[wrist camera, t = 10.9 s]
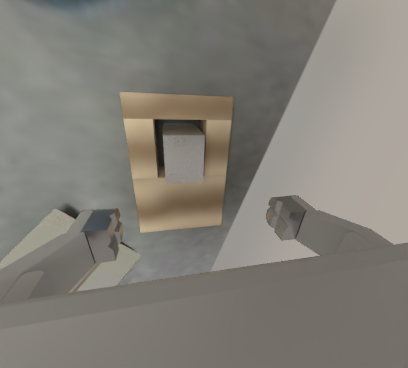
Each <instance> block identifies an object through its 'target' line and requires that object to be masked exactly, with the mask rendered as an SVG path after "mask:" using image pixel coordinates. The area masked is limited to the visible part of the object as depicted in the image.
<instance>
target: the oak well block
mask: <svg viewBox="0 0 408 368" xmlns="http://www.w3.org/2000/svg"><path fill="white" fill-rule="evenodd" d="M120 99H121V105H122V112H123V119H124V125H125V132H126V138H127V145H128V152H129V158H130V165H131V172H132V178H133V185H134V192H135V198H136V205H137V212H138V218H139V225H140V232H141V233H143V232H154V231H164V230H174V229H184V228H195V227H205V226H215V225H221V221H222V211H223V201H224V191H225V181H226V171H227V161H228V151H229V141H230V131H231V121H232V111H233V101H234V97H223V96H200V95H177V94H153V93H130V92H120ZM155 119H177V120H201V123H200V131H201V132H202V133H203V134H204V135H205V146H204V172H203V182H191V183H170V184H166V179H165V166H163V167H159V164H158V151H157V138H156V125H155Z"/></svg>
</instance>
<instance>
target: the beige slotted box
mask: <svg viewBox="0 0 408 368" xmlns="http://www.w3.org/2000/svg"><path fill="white" fill-rule="evenodd" d="M51 212H52V213H49V215H47V216H46V217H45V218H44V220H42V221H41V223H40V224H38V226H36V227H35V228H34V230H32V231H31V232H30V233H29V234H28V235H27V236H26V237H24V239H23V240H22V241H20V243H19V244H18V245H17V246H16V247H15V248H13V250H12V251H10V253H8V255H6V257H5V258H4V259H2V262H0V270H1V269H3V268H4V267H6V266H8V265H10V264H11V263H13V262H15V261H16V260H18V259H20V258H22V257H23V256H25V255H27V254H28V253H30V252H32V251H33V250H35V249H37V248H39V247H40V246H42V245H44V244H45V243H47V242H49V241H51V240H52V239H54V238H56V237H57V236H59V235H61V234H66V233H67V231H68V230H69V228H70V227H71V225H72V224H73V223H74V221H75V220H76V219H74V218H72V217H70V216H69V215H67V214H65V213H63V212H61V211H59V210H57V209H56V208H55V209H53V210H52V211H51ZM118 246H119V251H118V255H117V258H116V261H110V262H103V263H97V264H95V265H94V267H93V268H92V269H91V270H90V271H89V272H88V273H87V274H86V275H85V276H84V277H83V278H82V279H81V280H80V281H79V282H78V283H77V284H76V285H75V286H74V287H73V288H72V289H71V290H70V291H69V292H68V293H71V292H77V291H84V290H91V289H98V288H104V287H111V286H116V285H117V284H118V282H120V281H121V279H122V278H123V277H124V276H125V274H126V273H127V272H128V271H129V270H130V269H131V267H132V266H133V265H134V264H135V263H136V261H138V259H139V258H140V257H141V256H140V255H139V254H138V252H134V250H132V249H130V248H129V247H127V248H126V246H125V245H122V244H120V243H119V244H118Z"/></svg>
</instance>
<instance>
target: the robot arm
mask: <svg viewBox="0 0 408 368" xmlns="http://www.w3.org/2000/svg"><path fill="white" fill-rule="evenodd" d="M269 205H270V208H269V209H268V210H267V213H266V219H267V222H268V224H269V225H270V226H271V227H273V228H274V229H275V233H276V234H277V235H278V237H279V238H280V239H281V240H290V239H296V240H297V241H298V242H300V243H301V244H303V245H304V246H306V247H308V248H309V249H311V250H313V251H314V252H315V253H317V254H318V255H320V256H315V257H309V258H302V259H295V260H288V261H281V262H274V263H267V264H260V265H254V266H247V267H240V268H233V269H227V270H220V271H213V272H206V273H199V274H193V275H186V276H179V277H172V278H166V279H159V280H152V281H145V282H138V283H132V284H125V285H118V286H111V287H104V288H98V289H91V290H84V291H77V292H71V293H68V292H69V291H70V290H71V289H72V288H73V287H74V286H75V285H76V284H77V283H78V282H79V281H80V280H81V279H82V278H83V277H84V276H85V275H86V274H87V273H88V272H89V271H90V270H91V269H92V268H93V267H94V265H95V264H97V263H103V262H110V261H116V258H117V255H118V251H119V246H118V244H119V243H121V241H122V236H123V227H122V223H121V222H120V221H119V218H120V213H119V210H118V209H117V208H116V209H97V210H84V211H81V213H80V214H79V215H78V217H77V218H76V220H75V221H74V223H73V224H72V225H71V227H70V228H69V230H68V231H67V233H66V234H61V235H59V236H57V237H56V238H54V239H52V240H51V241H49V242H47V243H45V244H44V245H42V246H40V247H39V248H37V249H35V250H33V251H32V252H30V253H28V254H27V255H25V256H23V257H22V258H20V259H18V260H16V261H15V262H13V263H11V264H10V265H8V266H6V267H4V268H3V269H1V270H0V368H408V243H403V244H396V245H393V244H392V243H391V242H389V241H388V240H386V239H384V238H383V237H382V236H380V235H379V234H377V233H375V232H374V231H373V230H371V229H369V228H366V227H363V226H361V225H358V224H355V223H352V222H350V221H347V220H344V219H341V218H339V217H336V216H333V215H330V214H327V213H325V212H322V211H319V210H318V211H317V210H315V209H314V208H313V207H312V206H310V205H309V204H308V203H306V202H305V201H304V200H303V199H301V198H300V197H299V196H296V195H293V196H285V197H273V198H271V199H270V201H269Z"/></svg>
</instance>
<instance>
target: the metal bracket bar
mask: <svg viewBox="0 0 408 368" xmlns="http://www.w3.org/2000/svg"><path fill="white" fill-rule="evenodd" d="M204 146H205V135H204V134H203V133H202V132H201V131H200V130H199V129H198V128H197V127H196V126H195V125H194V124H170V123H163V147H164V163H165V179H166V184H170V183H191V182H203V172H204Z"/></svg>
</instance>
